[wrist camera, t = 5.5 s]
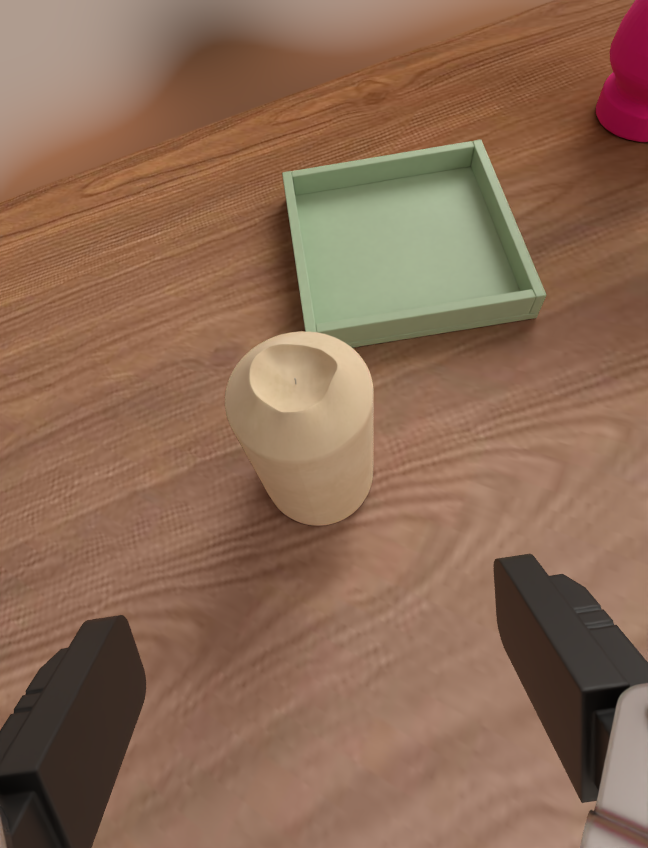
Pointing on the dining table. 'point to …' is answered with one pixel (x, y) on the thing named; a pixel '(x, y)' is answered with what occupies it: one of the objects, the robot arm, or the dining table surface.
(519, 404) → the dining table surface
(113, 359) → the dining table surface
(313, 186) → the tray
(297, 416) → the candle
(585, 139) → the dining table surface
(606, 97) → the pepper mill
